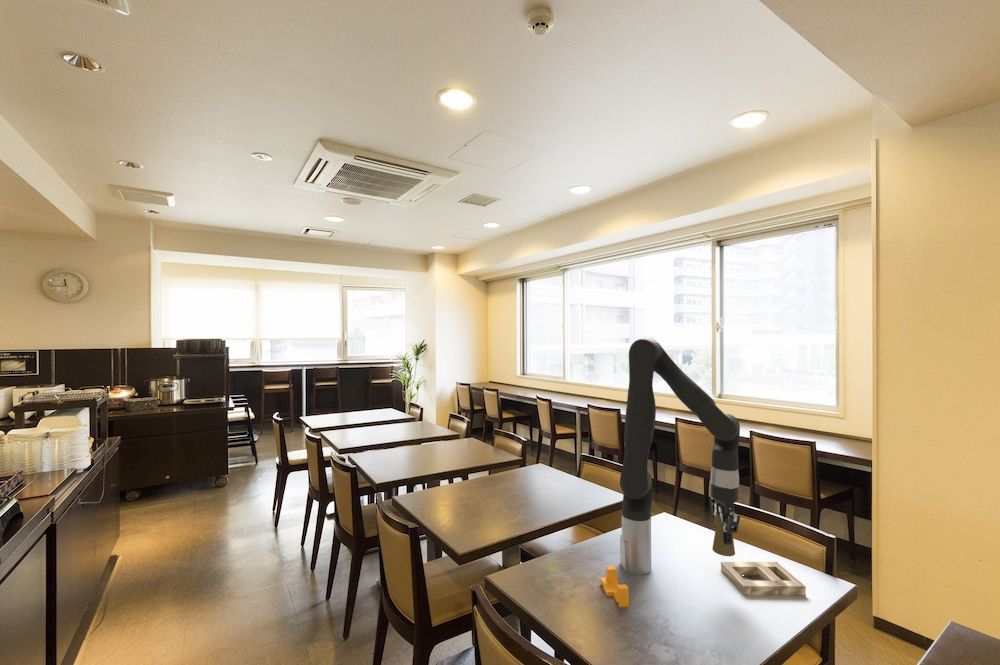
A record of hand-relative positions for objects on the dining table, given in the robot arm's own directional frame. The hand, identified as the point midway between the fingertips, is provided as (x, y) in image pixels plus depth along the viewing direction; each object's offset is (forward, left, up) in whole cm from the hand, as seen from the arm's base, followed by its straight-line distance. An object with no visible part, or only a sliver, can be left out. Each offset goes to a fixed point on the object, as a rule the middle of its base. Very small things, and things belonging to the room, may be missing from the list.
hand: (723, 540), depth 133 cm
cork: (0, 0, -4) cm, 4 cm away
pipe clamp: (-33, -2, -16) cm, 37 cm away
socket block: (+14, +6, -16) cm, 22 cm away
